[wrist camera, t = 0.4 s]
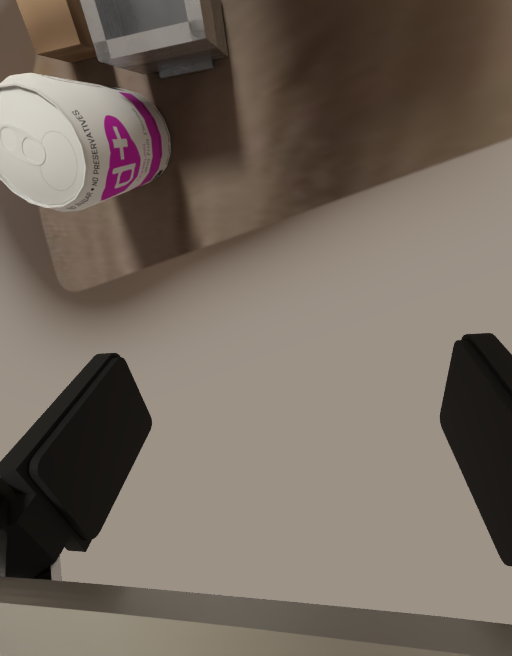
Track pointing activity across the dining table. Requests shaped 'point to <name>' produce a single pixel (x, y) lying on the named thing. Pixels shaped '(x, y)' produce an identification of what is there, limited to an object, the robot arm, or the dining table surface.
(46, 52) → the brown wooden block
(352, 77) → the dining table surface
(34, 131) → the supplement can
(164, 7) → the bracket stand
